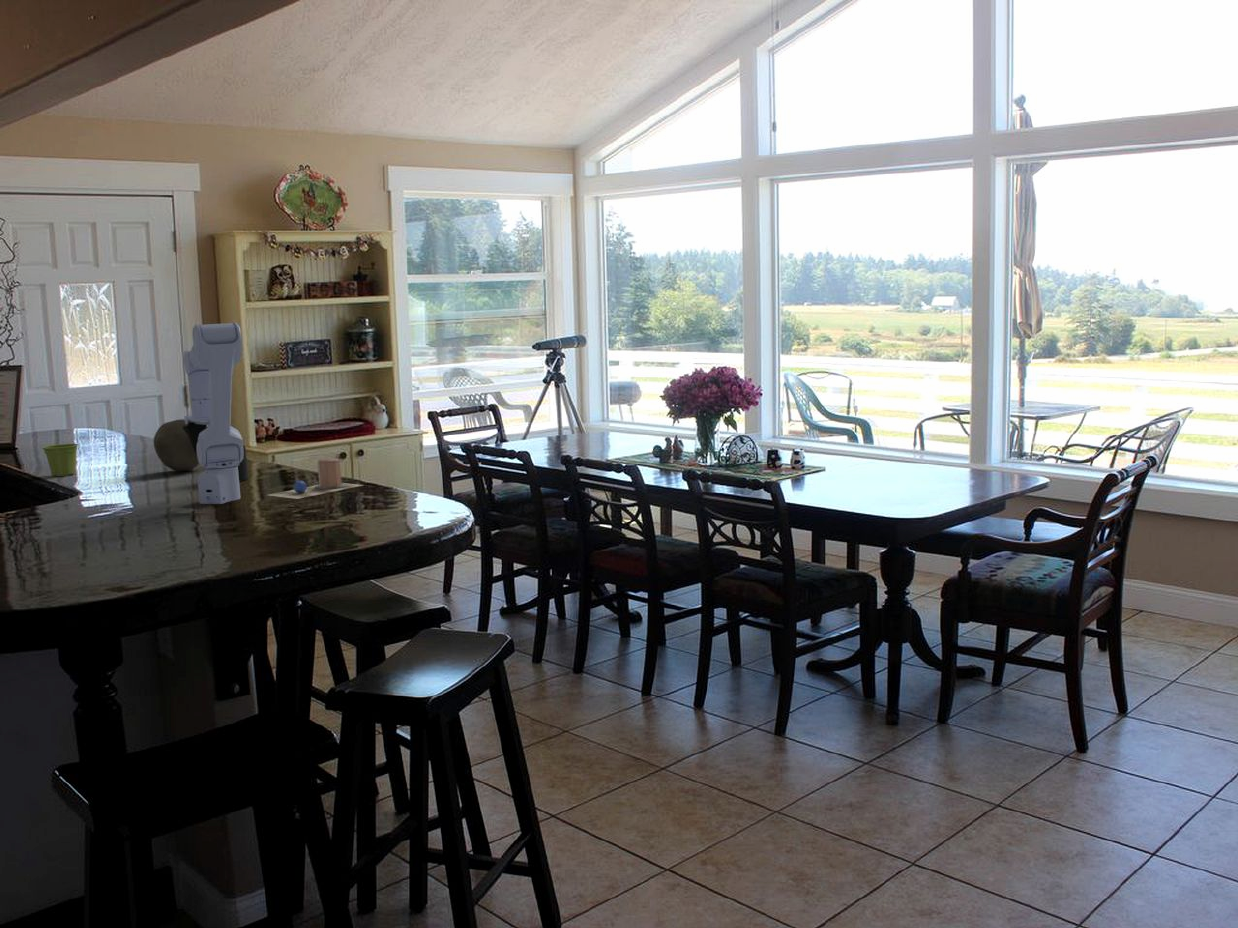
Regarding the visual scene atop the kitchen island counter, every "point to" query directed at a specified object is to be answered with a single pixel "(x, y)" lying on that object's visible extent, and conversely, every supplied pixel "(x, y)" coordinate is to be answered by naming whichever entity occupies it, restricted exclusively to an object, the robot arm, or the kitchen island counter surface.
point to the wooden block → (329, 473)
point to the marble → (300, 486)
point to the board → (313, 491)
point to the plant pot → (61, 459)
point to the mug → (243, 468)
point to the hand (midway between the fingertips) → (207, 453)
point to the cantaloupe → (175, 446)
